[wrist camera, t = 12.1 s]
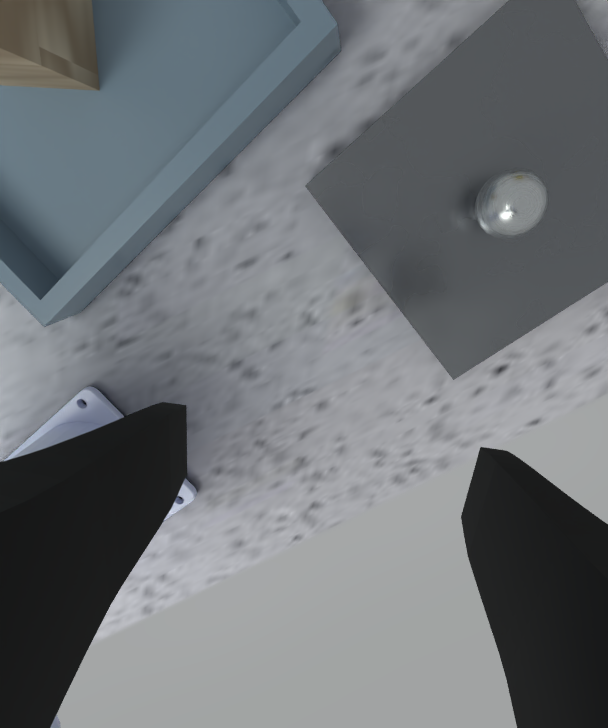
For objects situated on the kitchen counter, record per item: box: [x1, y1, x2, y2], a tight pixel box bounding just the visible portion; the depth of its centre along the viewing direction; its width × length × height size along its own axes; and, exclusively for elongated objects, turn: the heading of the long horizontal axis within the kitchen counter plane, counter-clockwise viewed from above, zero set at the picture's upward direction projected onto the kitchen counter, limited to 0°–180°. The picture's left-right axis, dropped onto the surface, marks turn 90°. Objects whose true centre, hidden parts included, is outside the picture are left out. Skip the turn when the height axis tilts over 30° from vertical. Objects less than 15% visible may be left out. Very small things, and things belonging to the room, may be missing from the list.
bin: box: [0, 0, 341, 327], centre depth 15 cm, size 16×16×2 cm
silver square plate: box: [306, 0, 608, 380], centre depth 15 cm, size 10×10×4 cm
